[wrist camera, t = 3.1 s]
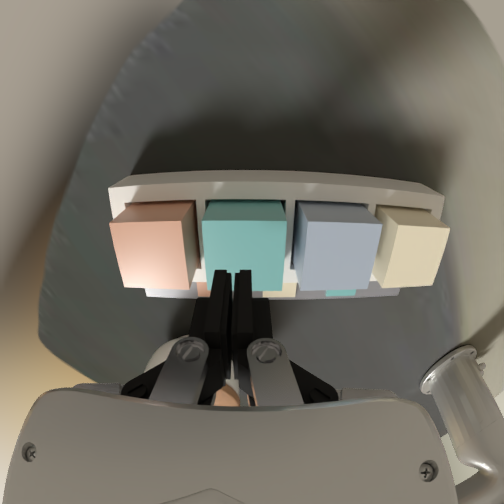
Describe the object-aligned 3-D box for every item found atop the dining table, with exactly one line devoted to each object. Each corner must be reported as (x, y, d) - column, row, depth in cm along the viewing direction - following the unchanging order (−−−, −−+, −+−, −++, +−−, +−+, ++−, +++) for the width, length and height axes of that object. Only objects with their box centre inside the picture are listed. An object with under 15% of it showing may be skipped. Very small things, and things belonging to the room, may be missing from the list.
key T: (279, 195, 19) (287, 221, 15) (276, 253, 22) (282, 290, 17) (213, 195, 19) (201, 220, 15) (216, 253, 22) (207, 290, 17)
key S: (355, 199, 20) (382, 224, 15) (346, 254, 22) (367, 288, 17) (295, 196, 20) (308, 221, 15) (290, 253, 22) (300, 290, 17)
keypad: (420, 183, 21) (445, 196, 17) (394, 289, 26) (409, 313, 23) (129, 175, 21) (108, 188, 17) (149, 290, 26) (137, 315, 23)
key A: (197, 195, 19) (181, 221, 15) (201, 253, 22) (189, 289, 17) (138, 198, 19) (109, 222, 15) (146, 252, 22) (124, 286, 17)
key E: (416, 204, 20) (450, 228, 15) (405, 254, 22) (431, 285, 17) (369, 200, 20) (398, 225, 15) (359, 254, 22) (381, 288, 17)
